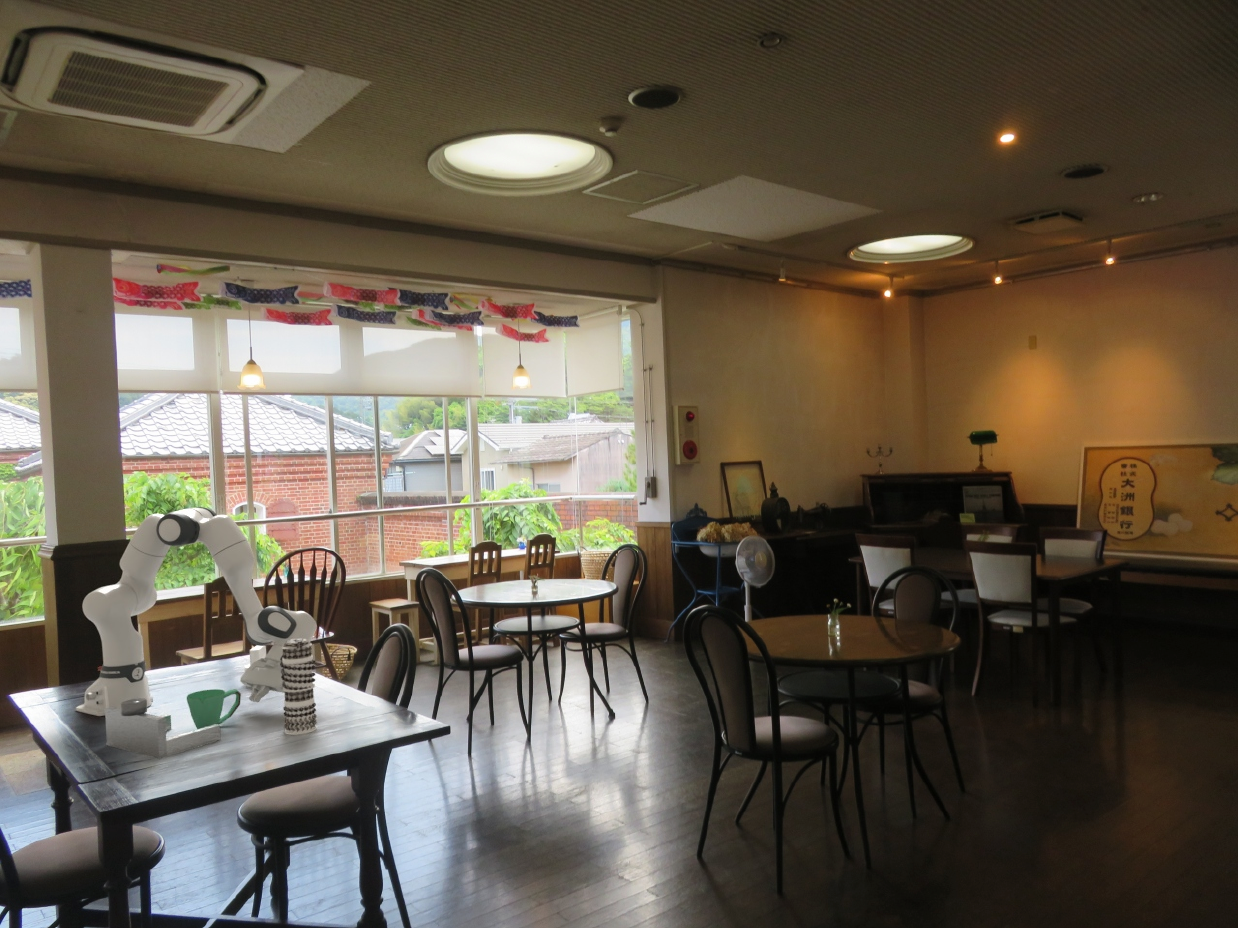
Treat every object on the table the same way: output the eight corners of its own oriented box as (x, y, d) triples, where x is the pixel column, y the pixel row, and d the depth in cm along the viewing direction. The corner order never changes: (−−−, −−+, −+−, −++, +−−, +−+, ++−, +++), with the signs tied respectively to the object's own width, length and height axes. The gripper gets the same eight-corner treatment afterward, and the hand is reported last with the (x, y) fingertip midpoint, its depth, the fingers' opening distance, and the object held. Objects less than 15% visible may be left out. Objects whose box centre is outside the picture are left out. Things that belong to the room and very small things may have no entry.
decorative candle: (303, 736, 244) (299, 644, 244) (275, 733, 247) (271, 642, 247) (325, 726, 253) (321, 637, 252) (298, 724, 256) (294, 636, 256)
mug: (196, 736, 248) (195, 700, 248) (182, 730, 255) (180, 694, 254) (249, 723, 259) (247, 688, 259) (233, 717, 265) (232, 683, 265)
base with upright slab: (249, 680, 313) (248, 645, 313) (276, 678, 314) (274, 643, 314) (241, 686, 304) (240, 651, 304) (269, 684, 305) (267, 649, 305)
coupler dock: (167, 727, 257) (165, 682, 257) (220, 739, 244) (218, 691, 244) (99, 747, 241) (96, 698, 241) (151, 761, 228) (149, 709, 228)
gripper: (252, 652, 279) (224, 691, 271) (295, 657, 268) (267, 698, 260) (265, 663, 283) (238, 702, 274) (308, 669, 271) (281, 710, 263)
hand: (253, 700), depth 267 cm, fingers closed
